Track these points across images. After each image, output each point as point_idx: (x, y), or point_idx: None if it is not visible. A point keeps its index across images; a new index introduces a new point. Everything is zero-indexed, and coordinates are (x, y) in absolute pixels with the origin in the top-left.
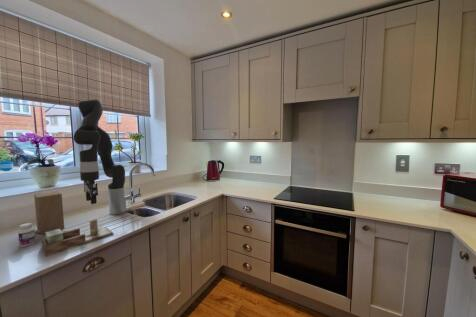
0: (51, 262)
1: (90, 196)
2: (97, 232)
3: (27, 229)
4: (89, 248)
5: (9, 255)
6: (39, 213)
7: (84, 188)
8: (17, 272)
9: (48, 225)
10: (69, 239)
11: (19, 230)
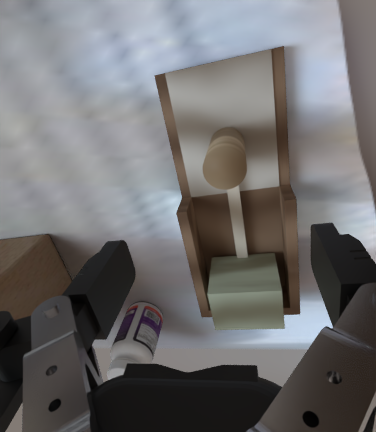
0: None
1: (109, 273)
2: (237, 131)
3: (141, 361)
4: (359, 172)
5: (204, 342)
6: None
7: (4, 410)
8: None
9: (54, 290)
10: (297, 252)
11: None
